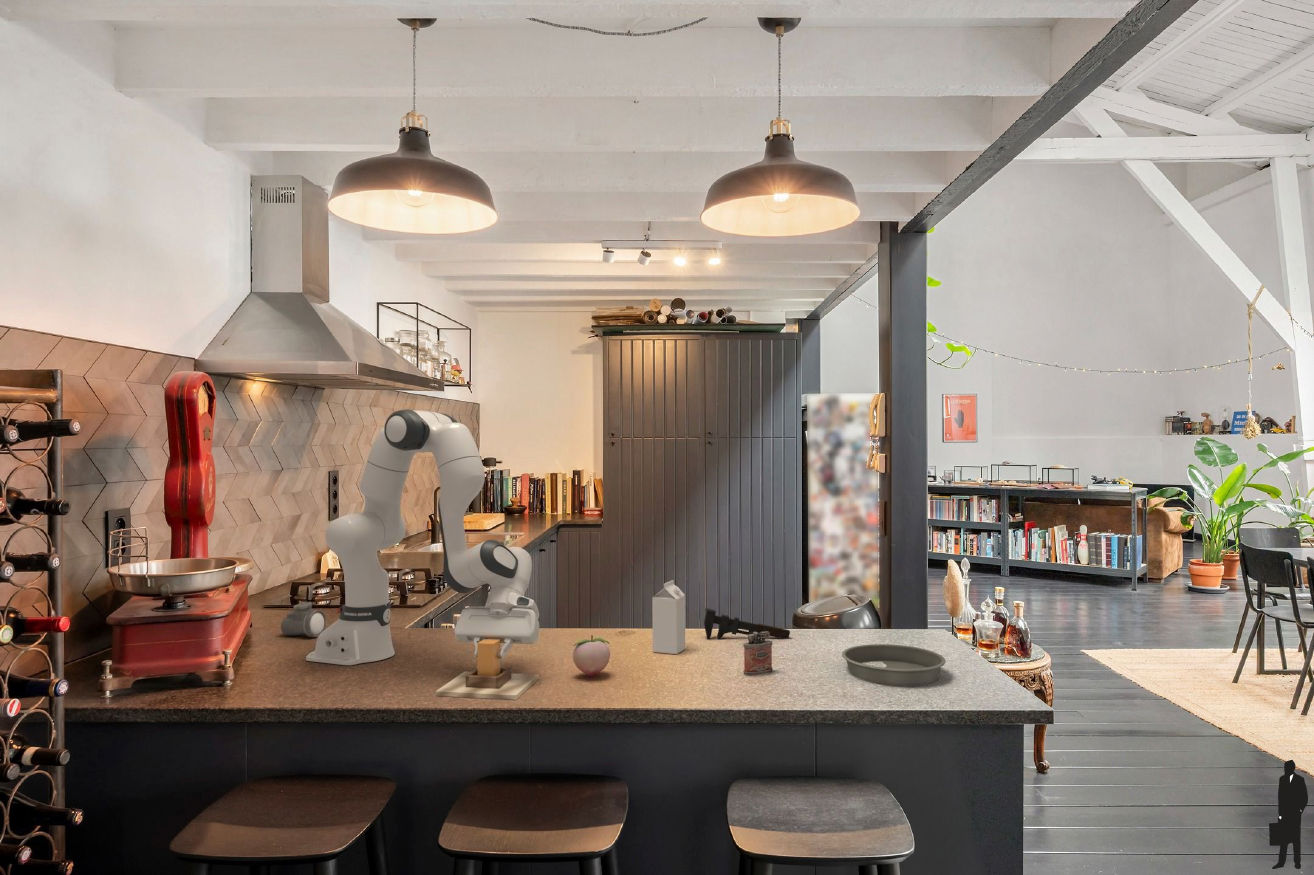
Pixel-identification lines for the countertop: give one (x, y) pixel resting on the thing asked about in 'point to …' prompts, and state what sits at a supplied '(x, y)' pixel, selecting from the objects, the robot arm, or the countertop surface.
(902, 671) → the cake pan
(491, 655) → the orange cap block
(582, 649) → the decorative fruit
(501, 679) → the socket board
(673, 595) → the milk carton
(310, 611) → the pipe fitting
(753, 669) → the lighter
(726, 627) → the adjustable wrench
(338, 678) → the countertop surface
